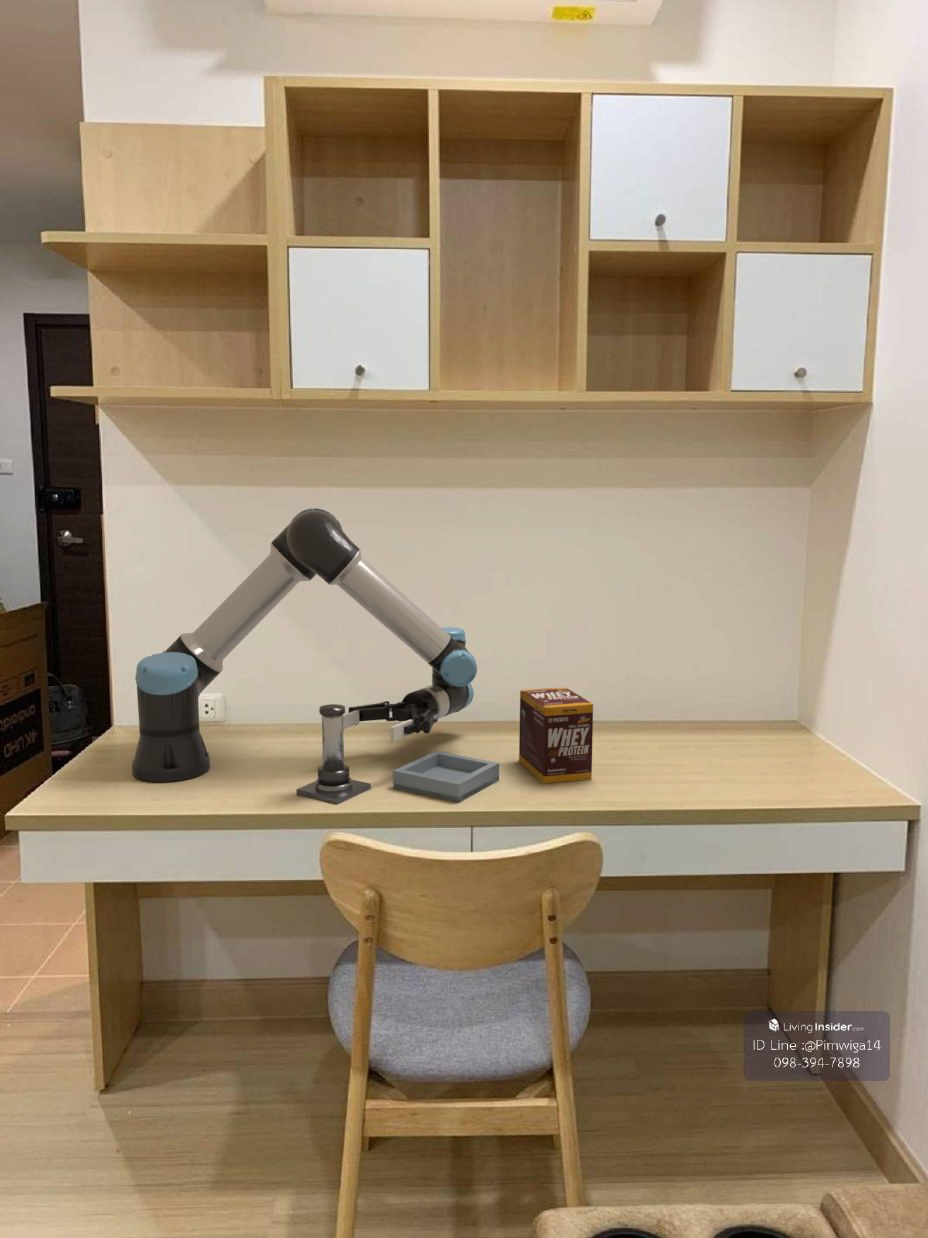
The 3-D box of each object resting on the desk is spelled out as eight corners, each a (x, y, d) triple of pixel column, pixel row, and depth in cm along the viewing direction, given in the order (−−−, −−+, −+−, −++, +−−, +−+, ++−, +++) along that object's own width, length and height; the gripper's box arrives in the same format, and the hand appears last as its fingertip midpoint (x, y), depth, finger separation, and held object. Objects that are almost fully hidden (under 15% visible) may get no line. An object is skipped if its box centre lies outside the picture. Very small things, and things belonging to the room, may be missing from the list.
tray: (393, 788, 179) (393, 770, 178) (436, 767, 192) (436, 750, 191) (458, 802, 171) (458, 784, 171) (499, 779, 184) (499, 762, 183)
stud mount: (296, 794, 175) (296, 784, 175) (330, 779, 184) (330, 769, 184) (337, 804, 170) (337, 793, 170) (370, 788, 179) (370, 778, 178)
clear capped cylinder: (311, 782, 176) (309, 708, 173) (331, 774, 181) (330, 702, 179) (335, 788, 173) (334, 713, 170) (356, 779, 178) (354, 706, 175)
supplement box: (543, 784, 181) (544, 707, 179) (518, 761, 196) (519, 689, 193) (592, 780, 184) (594, 703, 182) (564, 757, 199) (565, 686, 196)
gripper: (473, 731, 195) (416, 757, 178) (378, 714, 208) (316, 737, 191) (473, 696, 194) (416, 719, 176) (378, 682, 207) (315, 702, 189)
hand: (364, 728), depth 184 cm, fingers open, 13 cm apart
